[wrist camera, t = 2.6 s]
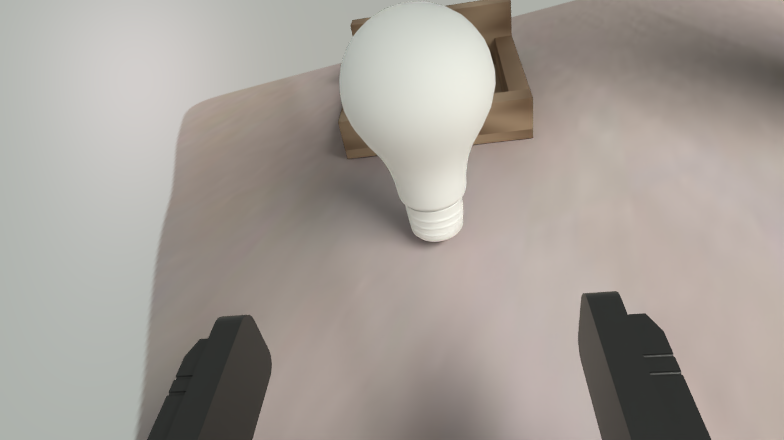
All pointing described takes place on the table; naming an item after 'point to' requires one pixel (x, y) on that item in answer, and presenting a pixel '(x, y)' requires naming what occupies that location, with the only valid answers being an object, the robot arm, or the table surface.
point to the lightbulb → (420, 105)
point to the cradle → (511, 89)
